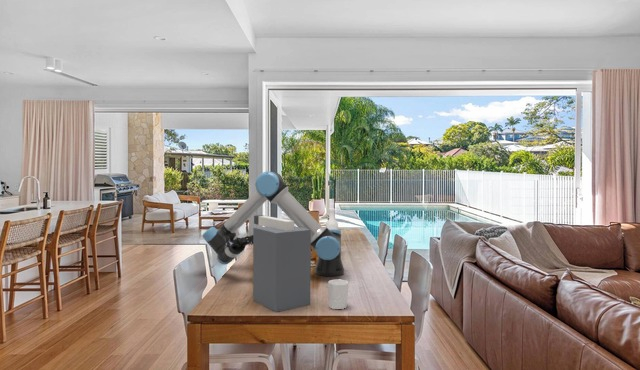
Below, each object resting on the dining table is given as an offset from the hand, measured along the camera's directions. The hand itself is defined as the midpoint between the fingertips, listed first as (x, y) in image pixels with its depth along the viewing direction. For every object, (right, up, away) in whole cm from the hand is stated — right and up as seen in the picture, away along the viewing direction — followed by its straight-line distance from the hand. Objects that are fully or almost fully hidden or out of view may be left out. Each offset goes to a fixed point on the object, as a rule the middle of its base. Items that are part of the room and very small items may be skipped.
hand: (253, 229), depth 191 cm
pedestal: (+14, -28, -18) cm, 36 cm away
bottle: (+37, -25, +77) cm, 89 cm away
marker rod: (+10, +3, -13) cm, 17 cm away
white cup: (+37, -28, -23) cm, 52 cm away
